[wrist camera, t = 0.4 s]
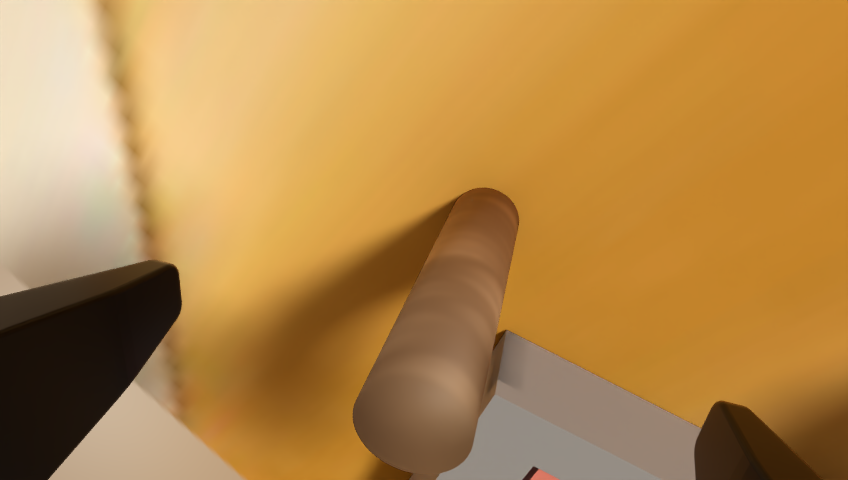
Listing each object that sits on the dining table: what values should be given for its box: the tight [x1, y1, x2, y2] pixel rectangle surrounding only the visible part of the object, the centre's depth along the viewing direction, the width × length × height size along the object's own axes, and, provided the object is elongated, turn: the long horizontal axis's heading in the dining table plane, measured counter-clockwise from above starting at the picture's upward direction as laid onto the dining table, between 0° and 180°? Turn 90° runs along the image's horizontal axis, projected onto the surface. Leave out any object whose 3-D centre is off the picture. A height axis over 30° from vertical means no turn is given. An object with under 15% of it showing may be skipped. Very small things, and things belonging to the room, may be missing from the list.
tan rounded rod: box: [353, 188, 519, 475], centre depth 16 cm, size 3×3×11 cm
